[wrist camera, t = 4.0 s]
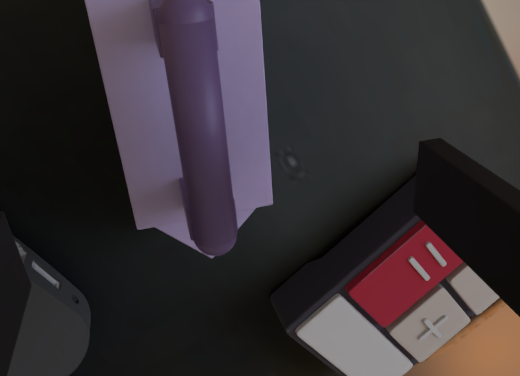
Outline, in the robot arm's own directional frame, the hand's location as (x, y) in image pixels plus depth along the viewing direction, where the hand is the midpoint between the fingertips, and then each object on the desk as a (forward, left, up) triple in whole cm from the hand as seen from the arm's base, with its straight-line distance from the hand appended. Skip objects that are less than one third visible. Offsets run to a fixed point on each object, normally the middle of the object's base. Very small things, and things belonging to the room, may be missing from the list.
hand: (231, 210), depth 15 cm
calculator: (+13, -15, -12) cm, 23 cm away
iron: (0, 0, -12) cm, 12 cm away
